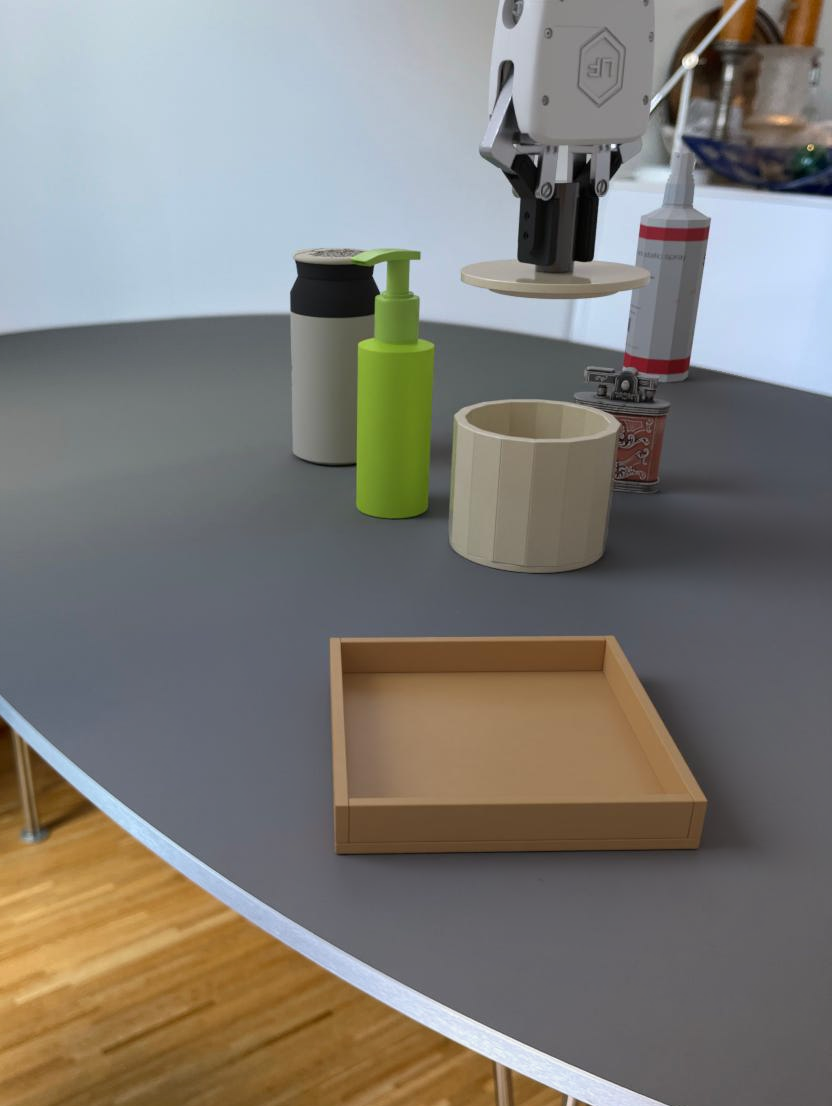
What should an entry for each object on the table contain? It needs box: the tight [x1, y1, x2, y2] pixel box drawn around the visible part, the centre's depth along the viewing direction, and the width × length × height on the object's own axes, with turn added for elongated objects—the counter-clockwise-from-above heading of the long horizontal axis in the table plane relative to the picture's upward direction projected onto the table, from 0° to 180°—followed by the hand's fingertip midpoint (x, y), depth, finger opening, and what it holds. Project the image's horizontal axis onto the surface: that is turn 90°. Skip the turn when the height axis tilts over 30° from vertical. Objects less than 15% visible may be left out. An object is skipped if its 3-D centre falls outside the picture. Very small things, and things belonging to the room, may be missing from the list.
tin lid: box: [459, 179, 651, 300], centre depth 71 cm, size 13×13×7 cm
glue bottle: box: [622, 151, 712, 383], centre depth 126 cm, size 8×8×25 cm
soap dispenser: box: [350, 248, 435, 519], centre depth 83 cm, size 6×7×20 cm
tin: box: [447, 398, 621, 574], centre depth 78 cm, size 12×12×10 cm
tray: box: [329, 635, 709, 855], centre depth 54 cm, size 16×16×3 cm
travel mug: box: [289, 247, 381, 466], centre depth 97 cm, size 8×8×18 cm
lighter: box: [572, 365, 671, 494], centre depth 91 cm, size 8×3×10 cm, turn 65°
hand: (555, 259), depth 71 cm, fingers closed on tin lid, 2 cm apart
